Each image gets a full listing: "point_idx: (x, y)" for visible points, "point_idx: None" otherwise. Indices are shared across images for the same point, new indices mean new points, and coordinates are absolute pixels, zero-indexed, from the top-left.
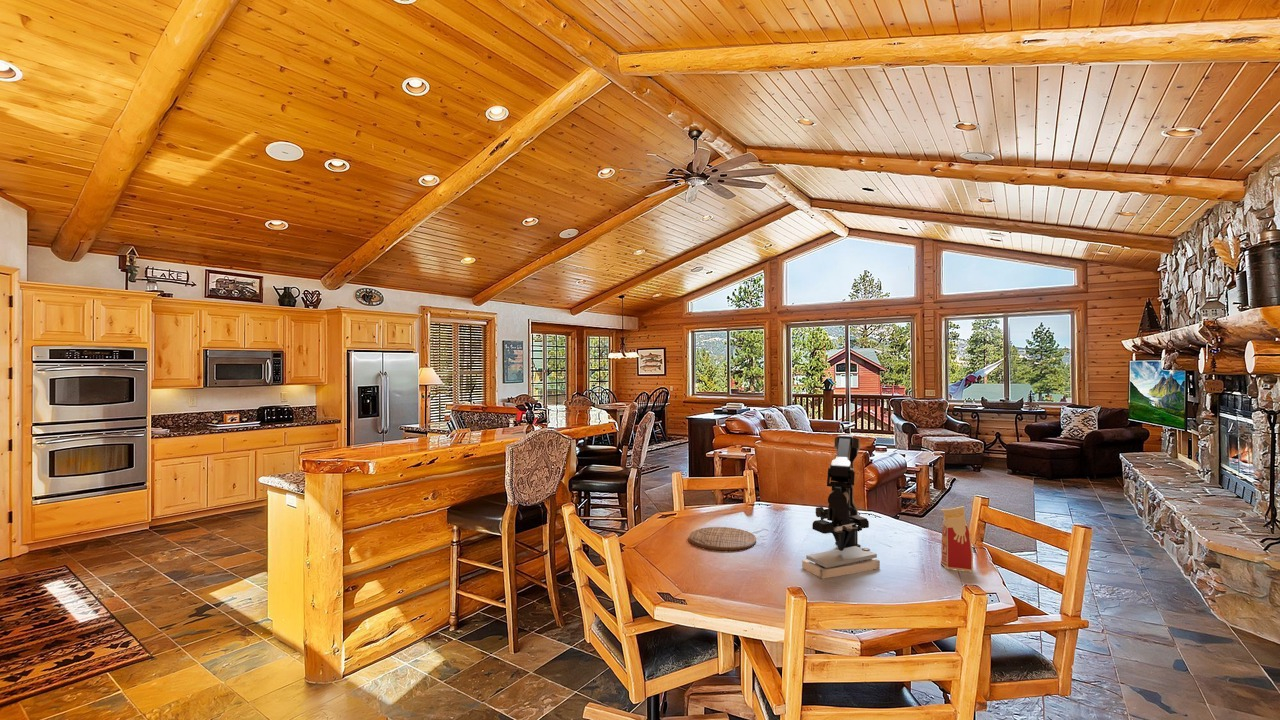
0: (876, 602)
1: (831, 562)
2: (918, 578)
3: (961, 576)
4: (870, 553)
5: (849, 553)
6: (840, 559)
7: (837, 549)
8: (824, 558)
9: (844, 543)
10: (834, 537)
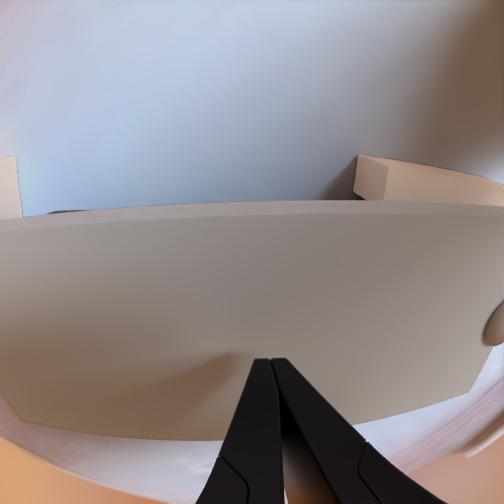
0: (139, 495)
1: (57, 424)
2: (426, 431)
3: (500, 418)
4: (457, 382)
5: (348, 356)
6: (151, 423)
7: (353, 215)
8: (33, 364)
9: (284, 480)
10: (200, 497)
